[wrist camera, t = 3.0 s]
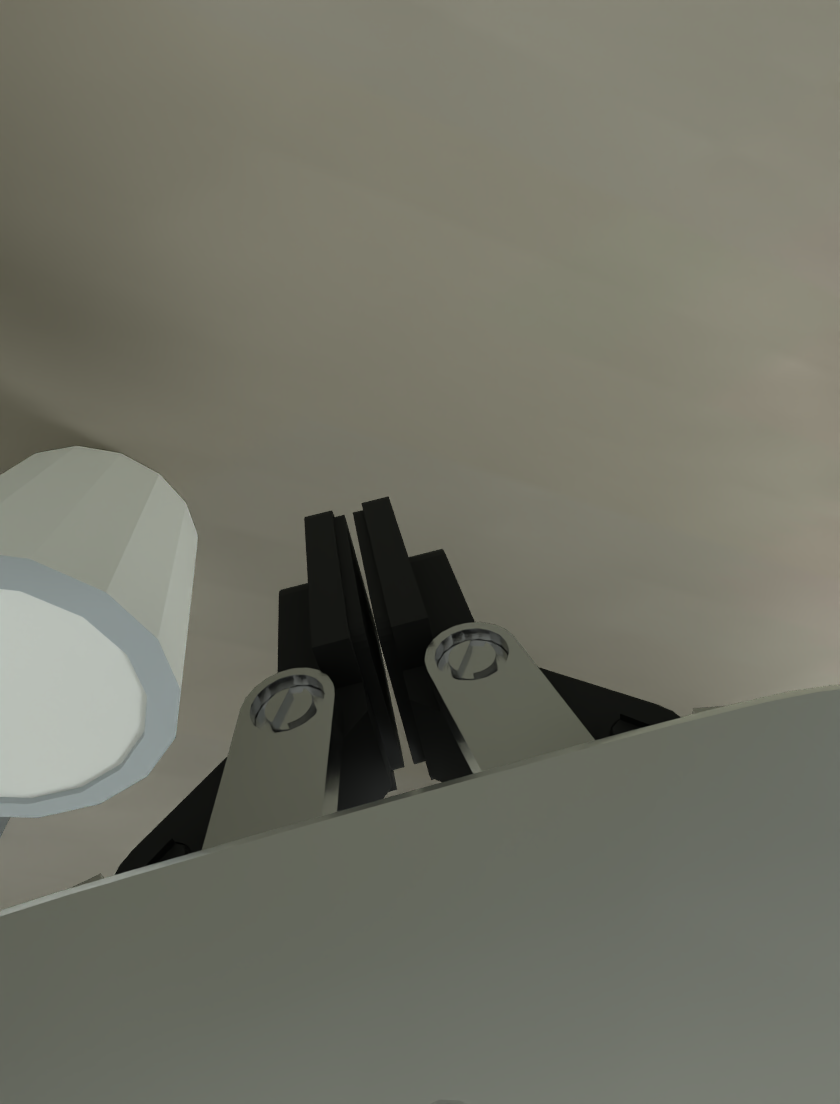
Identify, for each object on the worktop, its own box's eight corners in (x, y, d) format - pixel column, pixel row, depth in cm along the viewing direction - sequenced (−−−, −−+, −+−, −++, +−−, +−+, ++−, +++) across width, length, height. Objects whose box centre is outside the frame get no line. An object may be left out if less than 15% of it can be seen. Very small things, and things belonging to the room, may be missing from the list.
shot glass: (-99, 479, 16) (-334, 641, 10) (140, 384, 16) (43, 492, 10) (62, 662, 20) (-43, 862, 14) (259, 586, 20) (240, 754, 14)
